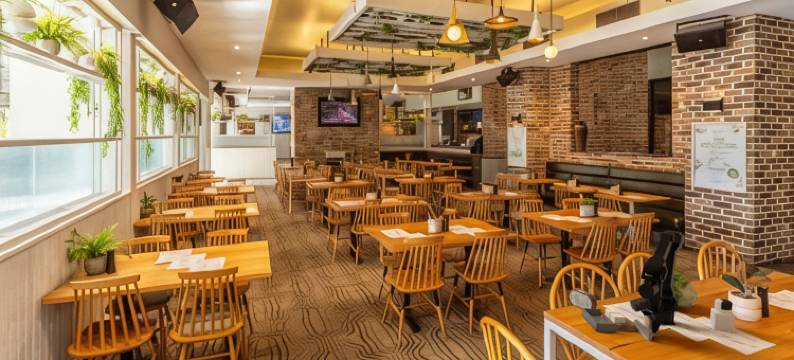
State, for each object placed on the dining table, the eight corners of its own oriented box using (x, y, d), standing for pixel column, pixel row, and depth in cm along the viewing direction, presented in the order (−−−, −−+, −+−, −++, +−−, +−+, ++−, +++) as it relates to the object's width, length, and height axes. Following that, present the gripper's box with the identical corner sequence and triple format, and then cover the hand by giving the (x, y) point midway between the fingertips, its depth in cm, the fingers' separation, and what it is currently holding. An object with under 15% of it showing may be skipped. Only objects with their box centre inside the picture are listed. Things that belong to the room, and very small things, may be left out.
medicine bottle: (729, 326, 205) (731, 298, 204) (734, 332, 198) (736, 303, 197) (709, 324, 207) (711, 296, 206) (714, 330, 201) (716, 301, 200)
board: (621, 318, 213) (621, 313, 212) (635, 331, 199) (635, 325, 198) (602, 317, 213) (602, 312, 213) (615, 330, 199) (615, 324, 199)
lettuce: (682, 318, 214) (695, 280, 213) (630, 296, 232) (642, 260, 230) (697, 317, 226) (709, 280, 225) (646, 296, 244) (658, 262, 242)
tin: (596, 313, 219) (597, 295, 218) (591, 314, 218) (592, 295, 217) (572, 302, 233) (573, 285, 232) (567, 303, 231) (568, 286, 231)
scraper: (648, 328, 202) (649, 311, 201) (664, 341, 189) (665, 323, 188) (634, 327, 202) (634, 311, 202) (648, 340, 189) (649, 323, 189)
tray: (600, 316, 215) (600, 308, 215) (616, 332, 197) (616, 323, 197) (581, 315, 215) (582, 308, 215) (596, 331, 197) (596, 323, 197)
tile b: (621, 319, 205) (621, 313, 205) (625, 323, 201) (625, 317, 200) (610, 318, 205) (610, 313, 205) (614, 322, 201) (614, 317, 201)
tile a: (615, 314, 211) (616, 308, 210) (619, 318, 206) (620, 312, 206) (605, 314, 211) (605, 308, 211) (609, 318, 206) (609, 312, 206)
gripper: (623, 285, 204) (621, 321, 205) (643, 299, 185) (641, 339, 186) (650, 285, 203) (648, 322, 204) (673, 300, 185) (671, 340, 186)
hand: (651, 330), depth 195 cm, fingers closed on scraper, 4 cm apart
